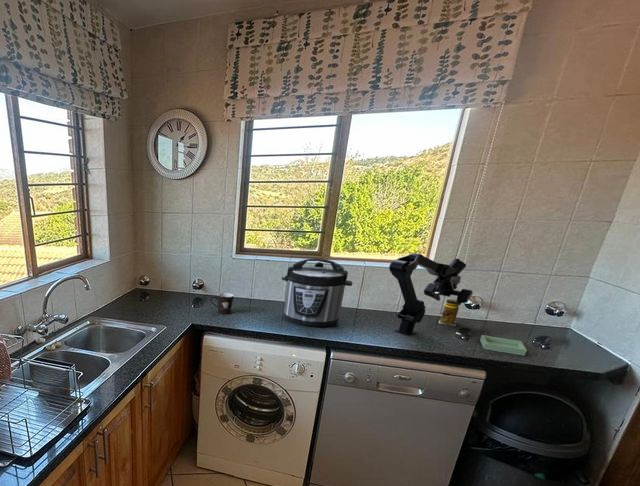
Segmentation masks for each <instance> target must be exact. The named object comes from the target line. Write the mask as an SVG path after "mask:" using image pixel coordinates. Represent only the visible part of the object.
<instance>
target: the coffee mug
mask: <svg viewBox="0 0 640 486" xmlns="http://www.w3.org/2000/svg"><path fill="white" fill-rule="evenodd" d="M234 296H235V295H234V294H233V293H231V292H220V293H217V296H211V298H210V301H209V302H210V303H211V304H212V305H213V306H215V307H216V308H217V311H218V314H219V315H220V314H221V315H230V314H231V312H232V307H233V303H234V302H233V301H234V298H235V297H234ZM214 298H215V299H216V300H217V305H216V304H215V303H213V301H212V300H213V299H214Z"/></svg>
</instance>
